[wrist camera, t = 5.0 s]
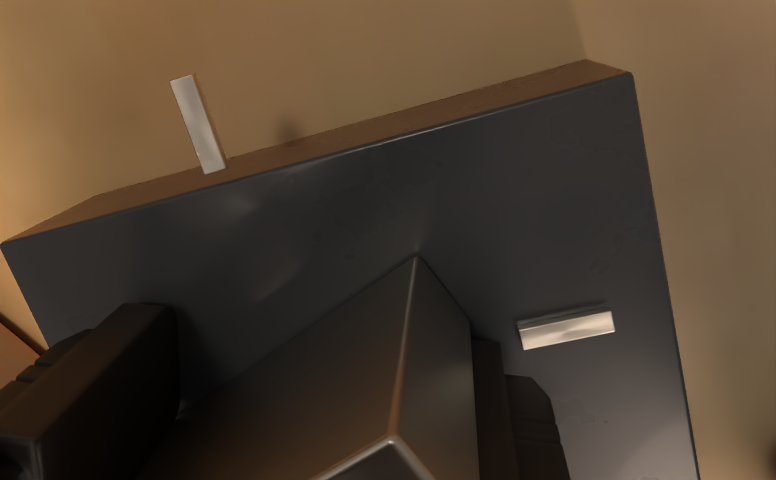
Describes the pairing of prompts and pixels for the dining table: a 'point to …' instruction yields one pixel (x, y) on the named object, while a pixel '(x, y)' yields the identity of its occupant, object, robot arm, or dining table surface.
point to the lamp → (13, 356)
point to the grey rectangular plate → (344, 398)
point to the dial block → (409, 251)
